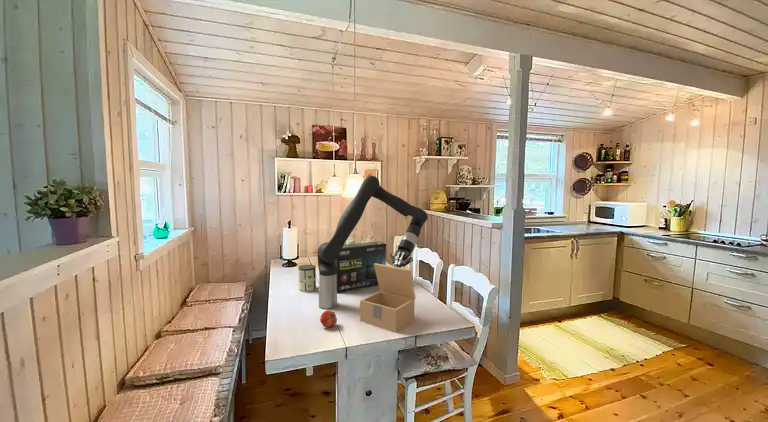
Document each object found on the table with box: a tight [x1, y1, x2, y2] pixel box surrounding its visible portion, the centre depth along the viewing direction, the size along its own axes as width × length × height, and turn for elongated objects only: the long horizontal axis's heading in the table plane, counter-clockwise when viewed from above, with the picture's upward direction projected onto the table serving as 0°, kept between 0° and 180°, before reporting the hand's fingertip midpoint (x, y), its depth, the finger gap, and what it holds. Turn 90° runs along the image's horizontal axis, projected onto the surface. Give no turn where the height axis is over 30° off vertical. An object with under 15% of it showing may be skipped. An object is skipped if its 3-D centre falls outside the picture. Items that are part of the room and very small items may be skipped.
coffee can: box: [297, 264, 317, 293], centre depth 198 cm, size 10×10×14 cm
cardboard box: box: [359, 290, 416, 333], centre depth 153 cm, size 16×20×10 cm
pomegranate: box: [319, 310, 338, 329], centre depth 147 cm, size 7×7×10 cm
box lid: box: [374, 263, 416, 299], centre depth 157 cm, size 16×20×1 cm
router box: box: [335, 240, 387, 294], centre depth 204 cm, size 36×11×27 cm, turn 123°
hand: (394, 272), depth 157 cm, fingers closed
